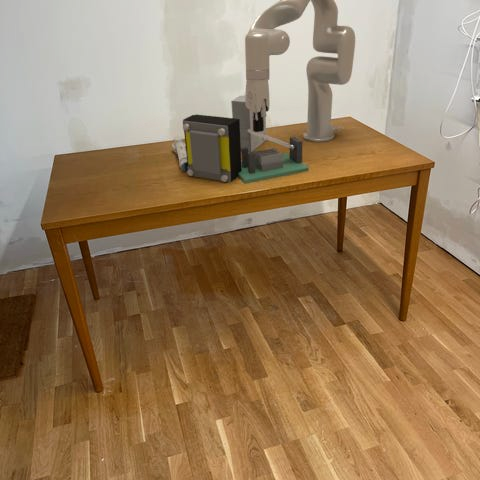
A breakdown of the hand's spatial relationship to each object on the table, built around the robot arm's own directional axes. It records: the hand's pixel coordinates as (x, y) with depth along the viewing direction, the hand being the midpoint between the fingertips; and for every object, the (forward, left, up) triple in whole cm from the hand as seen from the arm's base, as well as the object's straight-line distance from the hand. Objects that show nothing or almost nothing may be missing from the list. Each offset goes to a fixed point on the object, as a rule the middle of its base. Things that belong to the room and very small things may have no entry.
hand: (258, 130), depth 158 cm
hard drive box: (-7, -26, -15) cm, 31 cm away
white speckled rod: (+22, -24, -15) cm, 36 cm away
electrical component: (+16, -4, -15) cm, 22 cm away
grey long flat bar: (-5, 0, -4) cm, 6 cm away
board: (-3, 0, -15) cm, 15 cm away
